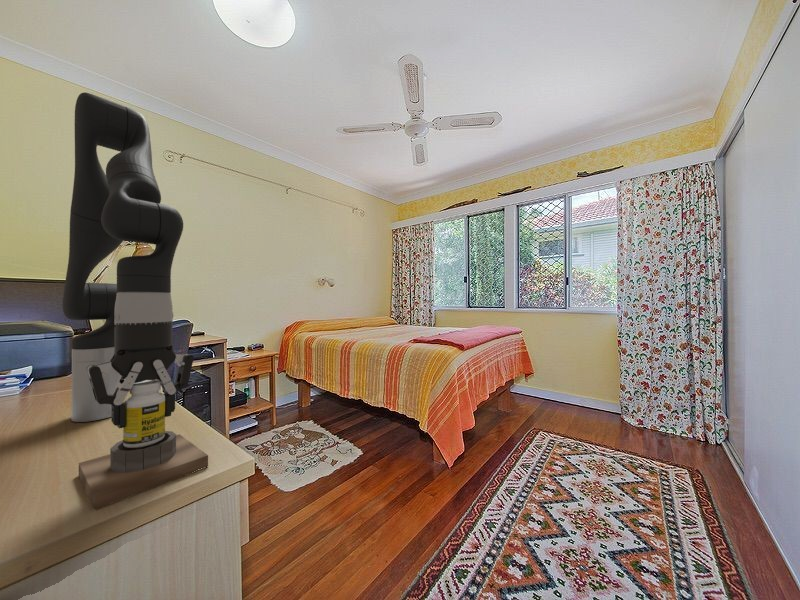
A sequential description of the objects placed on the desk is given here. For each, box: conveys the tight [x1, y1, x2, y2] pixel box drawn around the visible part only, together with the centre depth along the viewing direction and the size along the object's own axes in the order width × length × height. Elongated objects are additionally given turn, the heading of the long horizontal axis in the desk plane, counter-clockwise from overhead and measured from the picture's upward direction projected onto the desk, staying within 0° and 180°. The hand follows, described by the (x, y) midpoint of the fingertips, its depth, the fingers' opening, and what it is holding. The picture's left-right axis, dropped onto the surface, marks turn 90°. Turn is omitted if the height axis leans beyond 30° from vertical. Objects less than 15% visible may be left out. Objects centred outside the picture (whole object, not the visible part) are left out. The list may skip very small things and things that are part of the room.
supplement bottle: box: [122, 379, 166, 448], centre depth 52 cm, size 5×5×10 cm
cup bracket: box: [78, 430, 209, 511], centre depth 52 cm, size 14×14×5 cm
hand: (144, 420), depth 52 cm, fingers closed on supplement bottle, 5 cm apart
